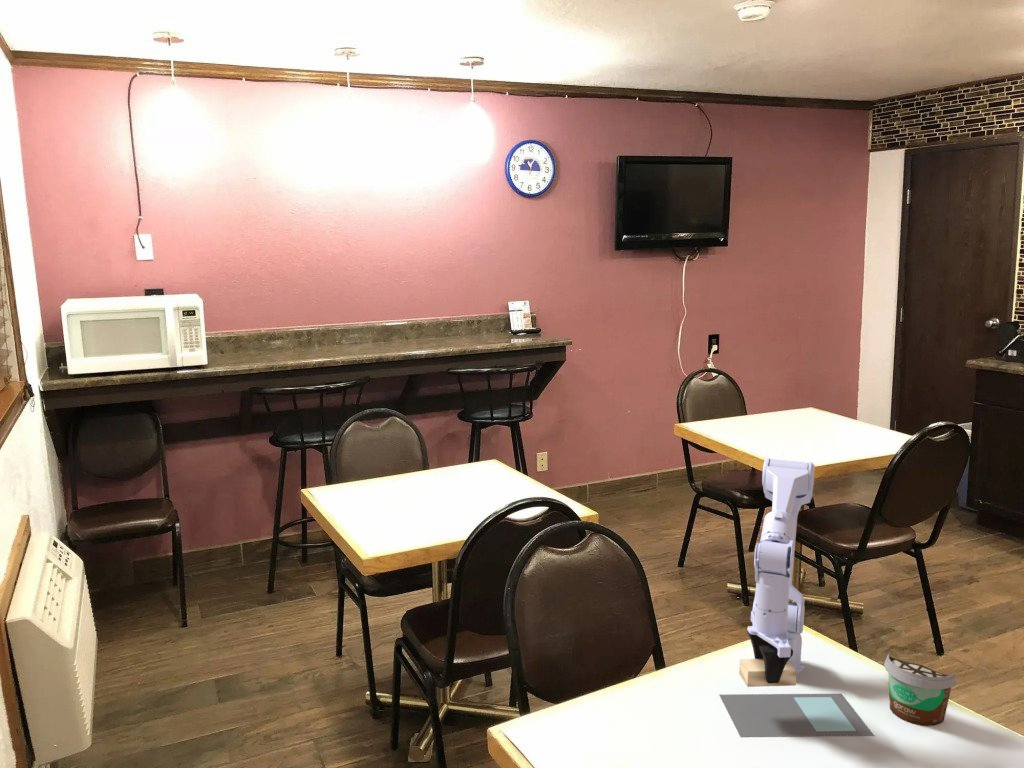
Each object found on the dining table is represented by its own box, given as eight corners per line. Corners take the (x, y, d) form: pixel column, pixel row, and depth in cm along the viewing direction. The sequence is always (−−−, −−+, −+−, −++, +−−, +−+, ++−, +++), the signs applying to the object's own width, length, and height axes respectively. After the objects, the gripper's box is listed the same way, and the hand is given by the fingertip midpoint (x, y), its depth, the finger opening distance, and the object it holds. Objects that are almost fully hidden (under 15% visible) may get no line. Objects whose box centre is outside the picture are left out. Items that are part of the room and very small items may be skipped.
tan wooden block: (786, 672, 152) (787, 657, 152) (795, 685, 148) (796, 670, 147) (739, 674, 152) (739, 659, 151) (747, 686, 147) (748, 671, 147)
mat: (841, 695, 158) (841, 693, 158) (874, 738, 144) (874, 735, 144) (719, 696, 158) (719, 694, 158) (740, 739, 144) (740, 736, 144)
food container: (871, 712, 153) (875, 662, 151) (882, 699, 157) (886, 650, 156) (942, 738, 144) (947, 686, 143) (952, 724, 149) (957, 673, 147)
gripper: (736, 589, 154) (733, 656, 157) (764, 624, 140) (760, 696, 142) (772, 588, 155) (769, 655, 157) (804, 623, 141) (799, 695, 143)
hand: (767, 675), depth 150 cm, fingers closed on tan wooden block, 4 cm apart
